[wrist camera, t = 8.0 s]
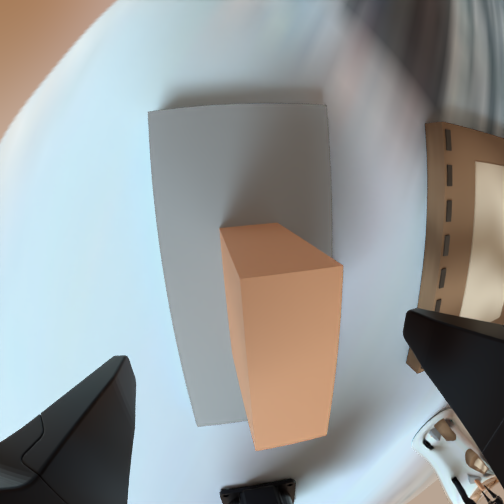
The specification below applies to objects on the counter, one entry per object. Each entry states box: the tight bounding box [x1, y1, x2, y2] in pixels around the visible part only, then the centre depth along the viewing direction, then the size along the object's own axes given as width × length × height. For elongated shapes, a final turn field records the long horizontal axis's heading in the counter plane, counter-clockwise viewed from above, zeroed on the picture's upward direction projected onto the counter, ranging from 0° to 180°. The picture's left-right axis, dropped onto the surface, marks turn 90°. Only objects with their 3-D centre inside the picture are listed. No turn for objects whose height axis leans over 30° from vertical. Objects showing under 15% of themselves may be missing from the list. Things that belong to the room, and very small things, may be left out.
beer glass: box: [411, 408, 504, 504], centre depth 16 cm, size 7×7×15 cm
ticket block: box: [406, 122, 504, 374], centre depth 16 cm, size 16×11×2 cm
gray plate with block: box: [148, 103, 343, 451], centre depth 11 cm, size 16×7×8 cm, turn 4°
